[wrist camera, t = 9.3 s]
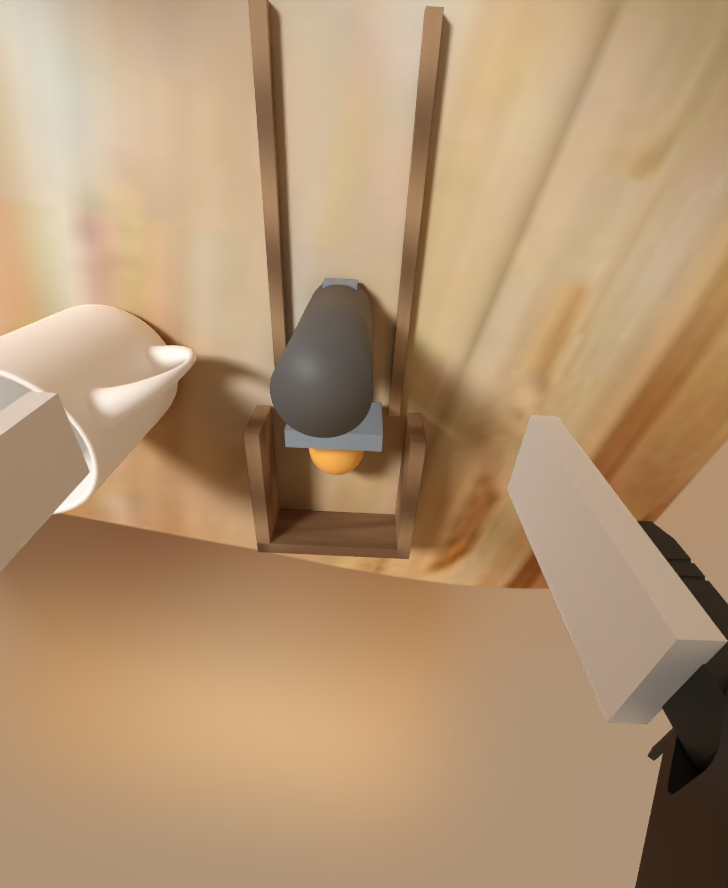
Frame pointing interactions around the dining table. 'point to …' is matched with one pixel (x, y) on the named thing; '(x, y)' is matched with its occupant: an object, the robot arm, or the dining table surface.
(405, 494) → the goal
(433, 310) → the dining table surface
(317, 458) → the ball
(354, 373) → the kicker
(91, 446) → the mug
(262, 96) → the lane
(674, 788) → the robot arm
